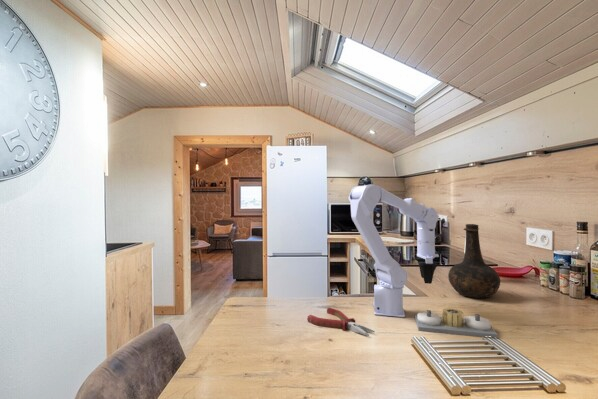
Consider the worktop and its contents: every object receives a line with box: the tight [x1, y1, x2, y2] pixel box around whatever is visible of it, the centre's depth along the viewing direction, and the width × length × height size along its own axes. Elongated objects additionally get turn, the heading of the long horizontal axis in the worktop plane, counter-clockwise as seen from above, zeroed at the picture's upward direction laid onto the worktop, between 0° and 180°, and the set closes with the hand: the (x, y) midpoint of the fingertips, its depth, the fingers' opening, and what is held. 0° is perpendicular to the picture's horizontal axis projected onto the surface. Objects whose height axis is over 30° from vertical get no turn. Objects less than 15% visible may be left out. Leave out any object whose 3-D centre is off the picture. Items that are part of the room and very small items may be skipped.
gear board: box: [414, 309, 499, 339], centre depth 89 cm, size 20×10×4 cm, turn 75°
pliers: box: [307, 307, 375, 337], centre depth 90 cm, size 12×20×3 cm, turn 44°
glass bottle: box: [447, 223, 501, 299], centre depth 120 cm, size 18×18×28 cm
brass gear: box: [441, 307, 465, 327], centre depth 89 cm, size 5×5×4 cm
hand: (426, 280), depth 105 cm, fingers open, 7 cm apart
